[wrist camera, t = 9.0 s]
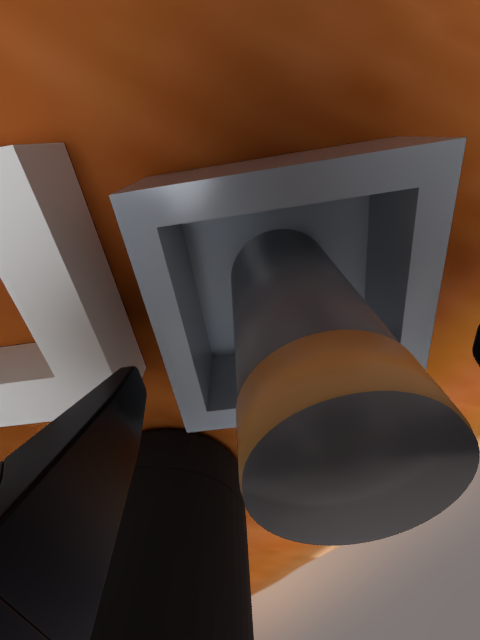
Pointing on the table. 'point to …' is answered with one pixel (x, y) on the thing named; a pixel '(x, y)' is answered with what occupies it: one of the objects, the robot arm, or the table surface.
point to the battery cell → (334, 406)
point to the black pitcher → (179, 547)
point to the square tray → (295, 214)
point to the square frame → (55, 289)
